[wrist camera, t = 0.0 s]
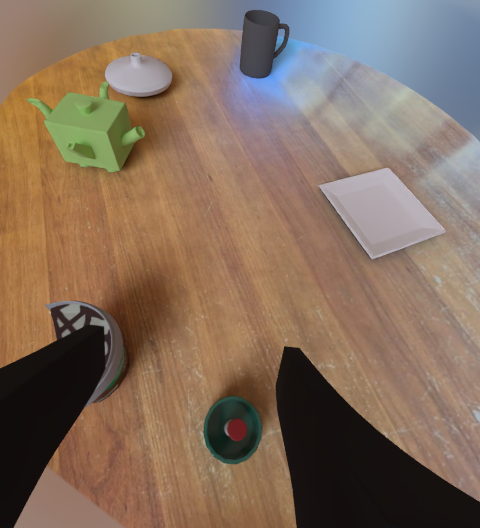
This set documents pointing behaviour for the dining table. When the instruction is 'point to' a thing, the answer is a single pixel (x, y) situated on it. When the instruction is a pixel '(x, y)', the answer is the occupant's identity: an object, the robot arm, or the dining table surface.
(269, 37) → the mug
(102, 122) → the kettle
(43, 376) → the robot arm
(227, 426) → the marker
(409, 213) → the plate
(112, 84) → the grey lid
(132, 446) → the dining table surface
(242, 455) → the thermos cup
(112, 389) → the cake slice
